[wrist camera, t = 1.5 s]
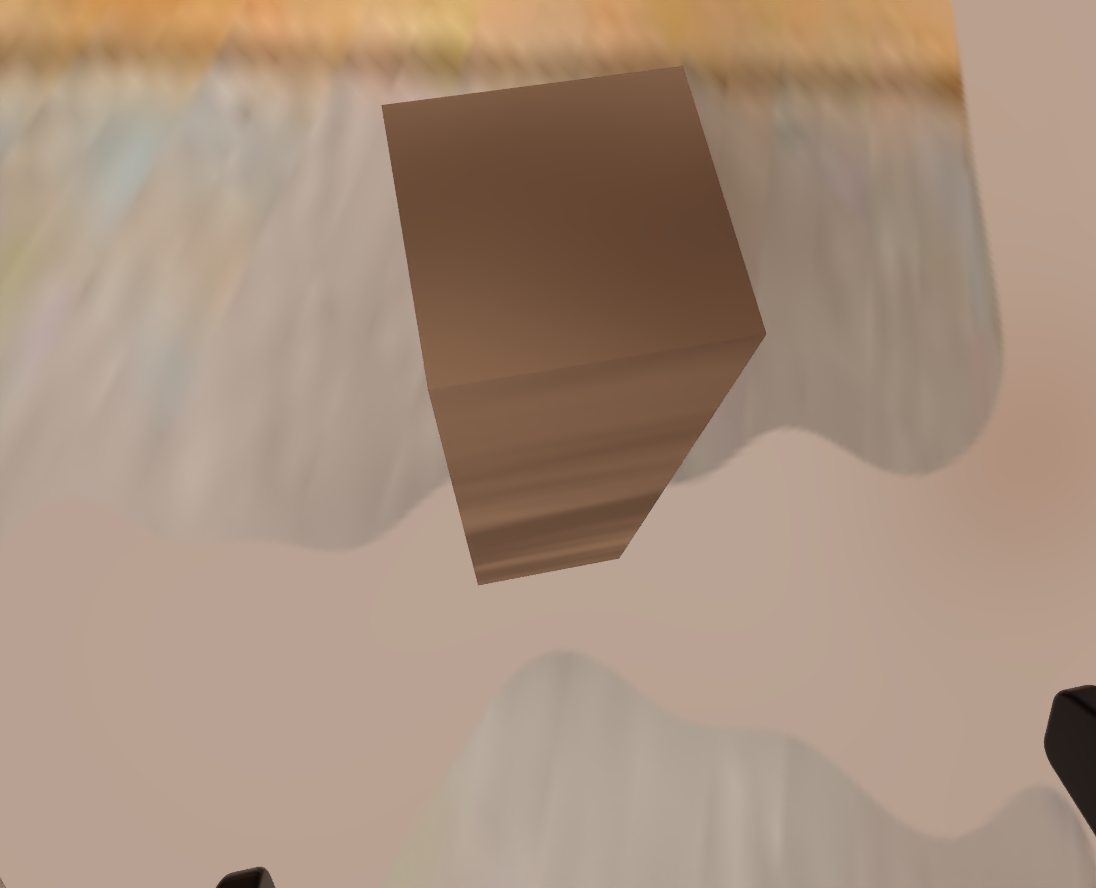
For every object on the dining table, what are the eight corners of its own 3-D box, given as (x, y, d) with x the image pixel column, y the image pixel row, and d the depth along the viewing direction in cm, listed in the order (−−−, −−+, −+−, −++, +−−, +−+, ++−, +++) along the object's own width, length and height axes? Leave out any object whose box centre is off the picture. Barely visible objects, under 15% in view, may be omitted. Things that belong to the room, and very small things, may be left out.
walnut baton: (619, 558, 23) (766, 334, 10) (478, 585, 22) (428, 389, 9) (589, 426, 24) (682, 66, 11) (455, 450, 24) (381, 104, 10)
